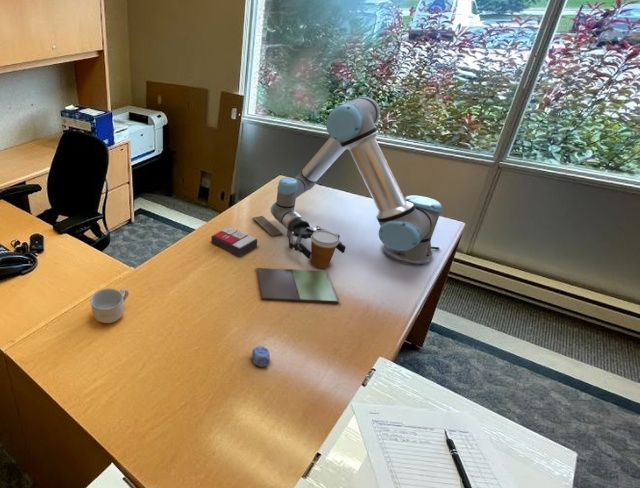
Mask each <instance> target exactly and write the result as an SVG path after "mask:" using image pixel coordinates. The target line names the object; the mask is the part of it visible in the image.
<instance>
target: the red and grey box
mask: <svg viewBox="0 0 640 488" xmlns="http://www.w3.org/2000/svg"><path fill="white" fill-rule="evenodd" d="M211 243H212V244H214V245H216V246H218V247H221V248H223V249H225V250H227V251H228V252H230V253H231V254H232V255H235V256H237V257H242V256H244V255H245V254H247V253H249V252H251V251H252V250H254V249H256V248H257V247H258V238H256V237H253V236H251V235H248V233H246V232H242V231H240V230H238V229H235V228H233V227H231V226H228V227H226V228H224V229H222V230H221V231H218V232H216V233H214V234H213V235H211Z"/></svg>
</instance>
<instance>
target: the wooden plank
mask: <svg viewBox="0 0 640 488" xmlns="http://www.w3.org/2000/svg"><path fill="white" fill-rule="evenodd" d="M252 220H253V221H254V222H255V223H257V225H258V226H260V227H261V228H262V229H263V230H264V231H265V232H267V233H268V234H269V235H270V236H271V237H277V236H283V233H282V232H281V230H279V229H278V228H277V227H276V226H275V225H273V223H272V222H270V221H269V220H268V219H267V218H266V217H264V215H259V216H254V217H253V216H252Z"/></svg>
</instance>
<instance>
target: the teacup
mask: <svg viewBox="0 0 640 488" xmlns="http://www.w3.org/2000/svg"><path fill="white" fill-rule="evenodd" d="M129 294H130V293H129V290H128V289H127V288H121V289H120V290H118V289H115V288H103V289H100V290H97V291H96V292H94V293H93V294H92V295H91V297H90V298H89V301H90V307H91V310H92V311H91V312H92V314H93V316H94V318H95V320H97V321H98V322H100V323H103V324H111V323H115V322H116V321H118V320H120V319H121V318H122V316H123V314H124V310H125V305H124V302H126V300H127V299H128V297H129Z"/></svg>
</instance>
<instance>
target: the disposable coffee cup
mask: <svg viewBox="0 0 640 488" xmlns="http://www.w3.org/2000/svg"><path fill="white" fill-rule="evenodd" d="M329 231H330V230H328V231H324V230H320V231H316V232H314V233H313V235H311V238H310V241H311V244H310V252H311V256H310V263H311V265H312V266H313V267H315V268H317V269H318V268H319V269H326V268H328V267H329V266H330V263H331V262H332V259H333V256H334V254H335V251H336V250H337V248H336V246H337V245H338V244H339V241H340V238H339V239H338V236H337V235H336V234H337V233H336V234H334V233H335V232H333V231H331V232H329ZM332 232H333V233H332Z"/></svg>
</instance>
